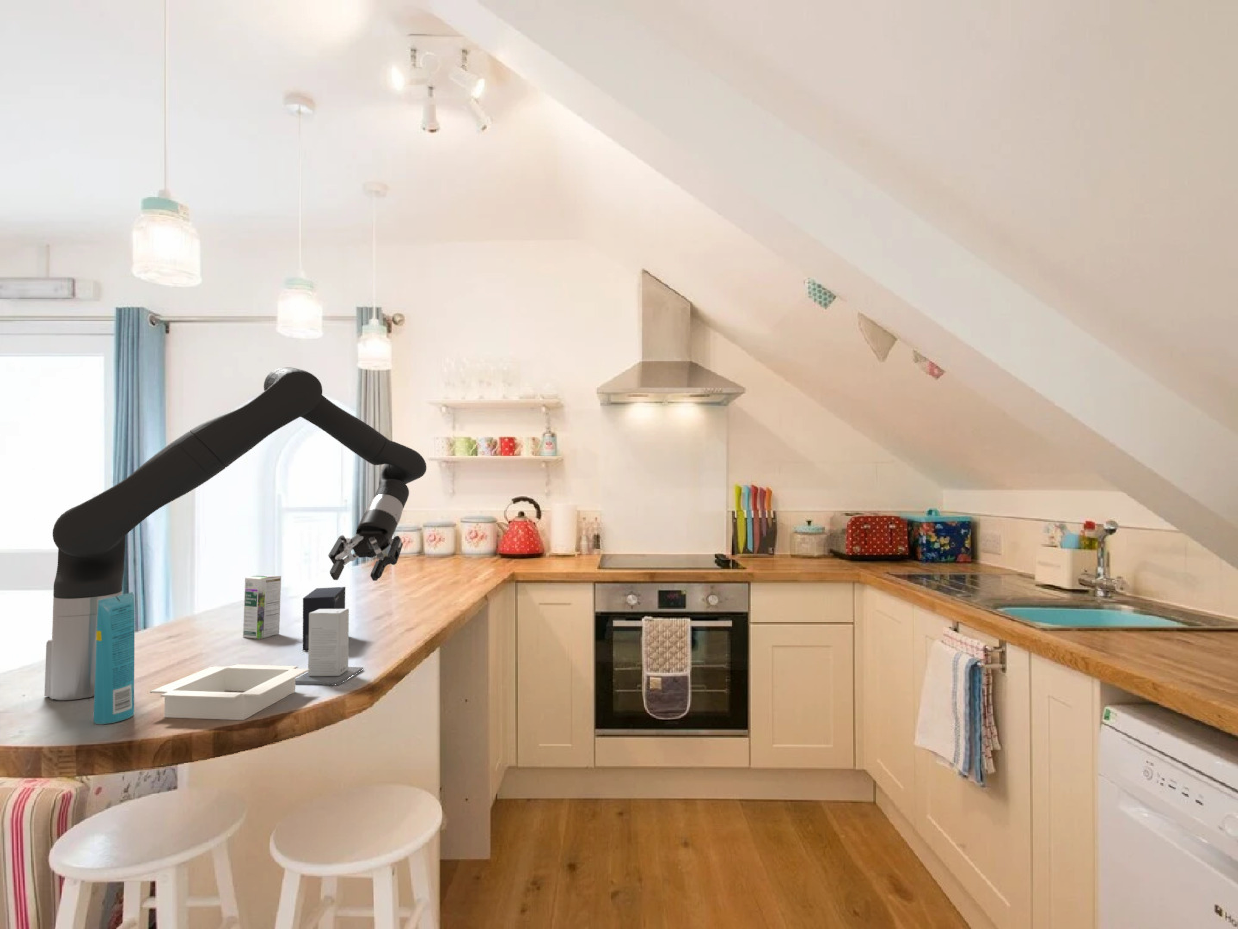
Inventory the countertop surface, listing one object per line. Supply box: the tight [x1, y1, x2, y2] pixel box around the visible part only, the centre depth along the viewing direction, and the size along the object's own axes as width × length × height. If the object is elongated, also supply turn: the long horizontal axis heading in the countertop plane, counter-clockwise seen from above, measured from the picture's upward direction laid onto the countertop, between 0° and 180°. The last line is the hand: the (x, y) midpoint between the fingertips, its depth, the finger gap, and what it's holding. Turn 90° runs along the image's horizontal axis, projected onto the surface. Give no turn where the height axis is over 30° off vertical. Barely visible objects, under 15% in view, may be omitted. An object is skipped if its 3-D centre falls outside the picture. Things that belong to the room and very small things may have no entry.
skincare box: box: [307, 608, 350, 676], centre depth 116 cm, size 6×4×12 cm
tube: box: [93, 591, 136, 725], centre depth 95 cm, size 7×5×19 cm, turn 11°
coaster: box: [295, 666, 364, 686], centre depth 116 cm, size 9×9×1 cm
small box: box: [302, 586, 346, 651], centre depth 141 cm, size 13×7×12 cm, turn 15°
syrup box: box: [242, 574, 282, 640], centre depth 148 cm, size 6×6×14 cm
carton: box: [149, 664, 309, 721], centre depth 102 cm, size 18×16×4 cm
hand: (353, 578), depth 125 cm, fingers open, 8 cm apart
